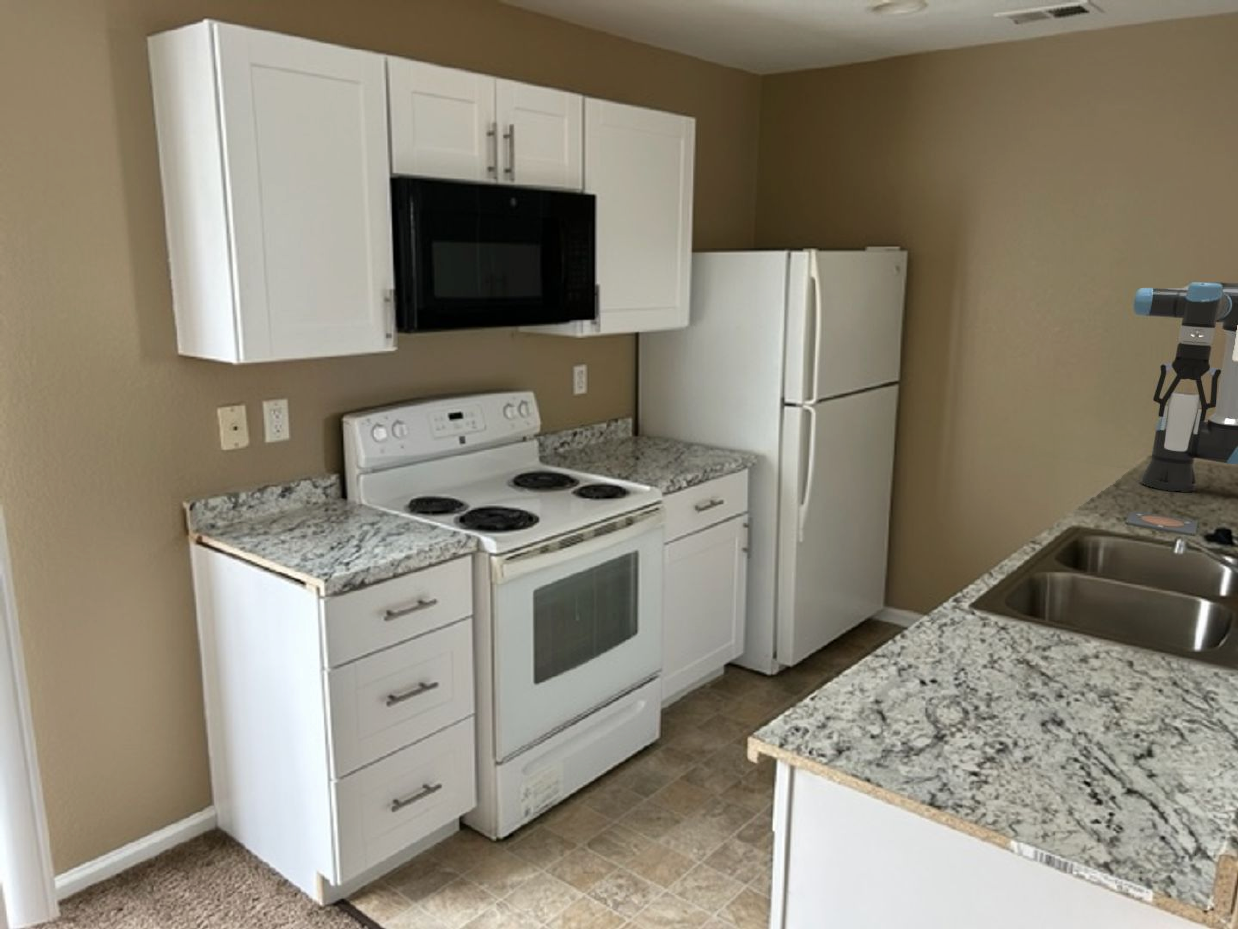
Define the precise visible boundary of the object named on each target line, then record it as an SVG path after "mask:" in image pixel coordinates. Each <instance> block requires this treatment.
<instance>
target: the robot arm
mask: <svg viewBox="0 0 1238 929" xmlns="http://www.w3.org/2000/svg"><path fill="white" fill-rule="evenodd" d="M1133 311H1134V313H1135V315H1138V316H1146V317H1157V318H1158V317H1159V318H1175V319H1181V325H1180V329H1179V335H1178V336H1179V337H1178V341H1179V342H1178V344H1177V348H1176V351H1175V358H1174V359H1173V361H1172V363H1162V364H1161V363H1160V366H1159V368H1160V375H1159V378H1158V382H1157V385H1156V388H1155V391H1154V395H1153V398H1152V399H1153V401H1154V402H1155V403H1158V404H1159V409H1158V418H1159V419H1158V421H1157V425H1156V428H1155V435H1154V441H1153V446H1152V450H1151V451H1152V453H1151V457H1150V461H1149V463H1148V465H1147V467H1146V468H1145V469H1144V471H1143V474H1142V476H1141V478H1140V484H1141V483H1142V484H1141V485H1143V484H1144V485H1143V486H1145V485H1148V486H1150V487H1149V488H1152V487H1154V488H1153V489H1156V488H1157V490H1161V489H1162V490H1163V491H1167V490H1168V492H1175V491H1181V492H1180V493H1191V492H1190V491H1193V492H1195V491H1196V486H1197V482H1196V476H1195V472H1194V462H1195V459H1197V460H1198V459H1199V460H1203V461H1204V460H1205V461H1211V462H1215V463H1216V462H1217V463H1223V464H1226V465H1229V464H1230V465H1235V466H1236V465H1238V362H1234V361H1233V360H1232V354H1233V350H1234V345H1235V338H1236V330H1237V325H1238V282H1219V281H1218V282H1196V281H1195V282H1190V284H1189V285H1185V286H1183V287H1182V288H1181V287H1180V288H1179V287H1178V288H1177V287H1176V288H1158V287H1155V288H1154V287H1142V288H1139V289H1138V290H1137V291H1136V293H1135V296H1134V300H1133ZM1217 323H1221V324H1222V329H1221V330H1222V331H1223V332H1224V333H1225V334H1226V342H1225V348H1224V355H1223V361H1222V368H1221V369H1220V368H1215V367H1212V366H1211V365H1210V357H1211V351H1212V345H1210V344H1212V343H1213V341H1214V335H1215V330H1216V324H1217ZM1171 369H1173V371H1174V372H1175V374H1176V375H1175V377H1174V379H1173V381H1172V383H1170V385H1169V387H1168V389H1167V390H1166V392H1165V393H1164V395H1163V397H1162V398H1161V397H1160V396H1161V393H1162V390H1163V387H1164V383H1165V380H1166V376H1167V373H1169V372H1170V371H1171ZM1207 372H1209V375H1210V377H1211V385H1210V399H1209V400H1210V401H1209V402H1207V400H1206V399H1207V398H1206V395H1205V390H1204V385H1203V381H1202V377H1203V376H1204V375H1205V374H1206V373H1207ZM1219 377H1220V378H1219ZM1218 379H1219V380H1220V381H1219V385H1218ZM1182 380H1191V381H1195V384H1196V388H1197V392H1198V393H1197V394H1199V397H1200V401H1199V403H1200V407H1198V411H1197V415H1196V419H1195V422H1194V425H1193V429H1192V432H1191V436H1190V439H1189V443H1188V448H1187V450H1186V451H1172V450H1168V449H1165V448H1164V444H1165V436H1166V425H1167V412H1168V404H1167V403H1168V402H1169V399H1170V396H1171V394H1172V393H1173V392H1175V389H1176V388H1177V386H1178V385H1179V383H1180V381H1182ZM1218 386H1219V387H1218ZM1212 408H1213V409H1214V408H1215V410H1214V413H1212V414H1211V415H1209V416H1208V419H1207V421H1206V415H1207V411H1208V410H1209V409H1212ZM1148 486H1147V487H1148Z"/></svg>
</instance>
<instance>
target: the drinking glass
mask: <svg viewBox="0 0 1238 929" xmlns="http://www.w3.org/2000/svg"><path fill="white" fill-rule="evenodd" d="M1167 405H1168V412H1167V425H1166V436H1165V444H1164V448H1165V449H1168V450H1172V451H1186V450H1187V448H1188V443H1189V439H1190V436H1191V432H1192V429H1193V425H1194V422H1195V419H1196V415H1197V411H1198V408H1200V407H1199V405H1200V397H1199V393H1193V392H1183V391H1173V393H1172V394H1171V396H1170V398H1169V399H1168V404H1167Z"/></svg>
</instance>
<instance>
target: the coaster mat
mask: <svg viewBox="0 0 1238 929" xmlns="http://www.w3.org/2000/svg"><path fill="white" fill-rule="evenodd" d="M1198 523H1199V521H1198V520H1192V519H1185V518H1179V517H1172V516H1168V515H1161V514H1156V513H1149V512H1144V511H1137V510H1131V511H1130V512H1129V514H1128V516H1127V519H1126V520H1125V523H1124V524H1125V525H1129V526H1134V527H1135V526H1136V527H1140V528H1146V529H1152V530H1158V531H1163V532H1164V531H1165V532H1170V533H1175V534H1181V535H1185V536H1193V537H1195V536H1196V533H1197V529H1198Z"/></svg>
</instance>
